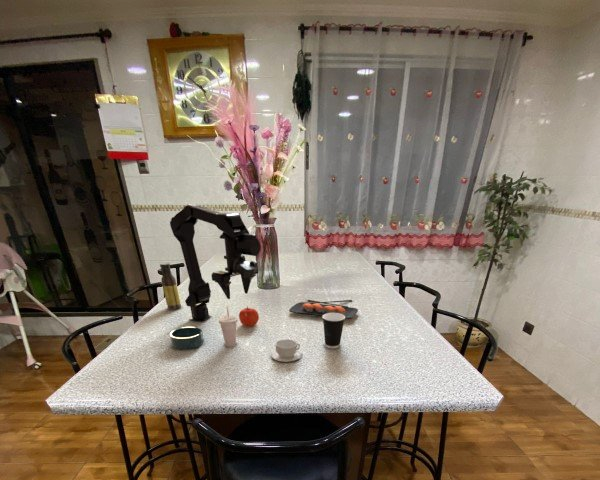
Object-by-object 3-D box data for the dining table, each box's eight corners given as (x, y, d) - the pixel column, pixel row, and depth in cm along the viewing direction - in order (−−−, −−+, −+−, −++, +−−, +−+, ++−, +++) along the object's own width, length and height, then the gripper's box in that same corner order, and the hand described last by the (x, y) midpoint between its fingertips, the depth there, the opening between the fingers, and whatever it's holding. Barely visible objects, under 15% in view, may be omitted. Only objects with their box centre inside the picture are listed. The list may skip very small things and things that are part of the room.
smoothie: (242, 342, 132) (239, 305, 125) (234, 349, 127) (230, 310, 120) (227, 340, 134) (222, 303, 127) (218, 346, 129) (213, 308, 122)
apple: (256, 329, 144) (254, 309, 139) (237, 328, 145) (235, 308, 141) (261, 322, 150) (260, 303, 146) (243, 321, 152) (241, 302, 147)
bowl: (165, 347, 129) (163, 335, 127) (185, 336, 138) (182, 325, 135) (191, 352, 125) (189, 340, 123) (209, 340, 134) (208, 329, 132)
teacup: (279, 365, 116) (278, 352, 114) (267, 353, 124) (266, 341, 121) (306, 359, 120) (306, 346, 118) (293, 348, 128) (292, 335, 125)
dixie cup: (318, 348, 127) (319, 318, 122) (325, 340, 134) (326, 311, 128) (339, 351, 125) (341, 321, 119) (346, 343, 131) (348, 314, 125)
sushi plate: (286, 315, 158) (286, 306, 156) (310, 296, 182) (310, 289, 180) (350, 323, 149) (351, 314, 147) (367, 302, 172) (368, 294, 170)
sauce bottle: (178, 304, 171) (169, 261, 161) (183, 308, 167) (175, 263, 157) (165, 307, 168) (155, 263, 157) (170, 311, 164) (161, 265, 153)
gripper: (230, 260, 119) (234, 306, 127) (267, 251, 131) (269, 294, 140) (207, 255, 124) (213, 300, 133) (246, 248, 137) (249, 289, 145)
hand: (237, 296), depth 137 cm, fingers open, 9 cm apart
